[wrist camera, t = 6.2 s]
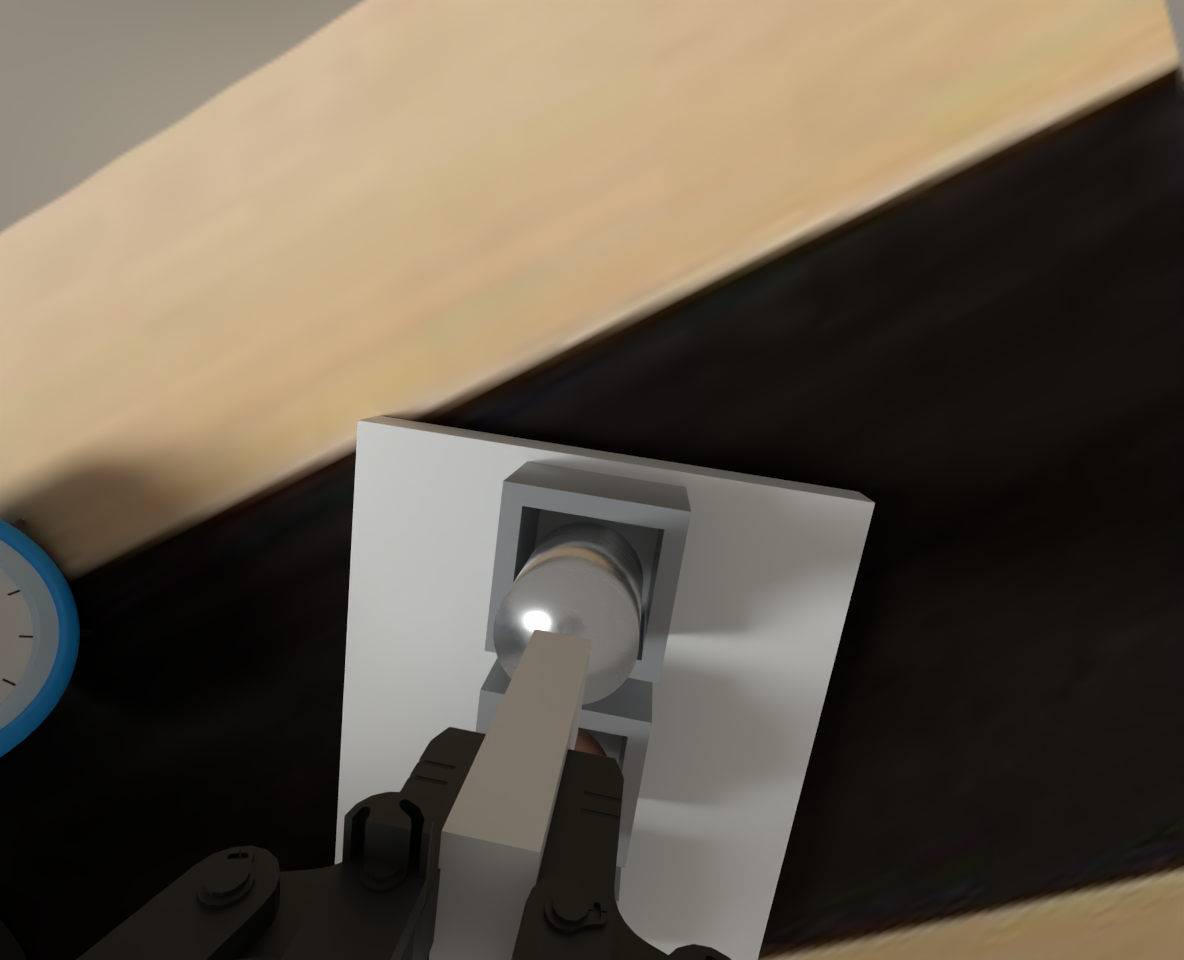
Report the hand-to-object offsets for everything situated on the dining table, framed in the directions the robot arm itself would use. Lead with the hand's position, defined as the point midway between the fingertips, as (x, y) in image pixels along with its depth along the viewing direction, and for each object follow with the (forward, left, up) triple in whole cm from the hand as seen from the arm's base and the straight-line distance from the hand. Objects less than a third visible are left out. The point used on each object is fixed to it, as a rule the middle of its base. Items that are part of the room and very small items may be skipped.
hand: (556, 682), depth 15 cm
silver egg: (0, 0, -7) cm, 7 cm away
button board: (0, -9, -13) cm, 15 cm away
